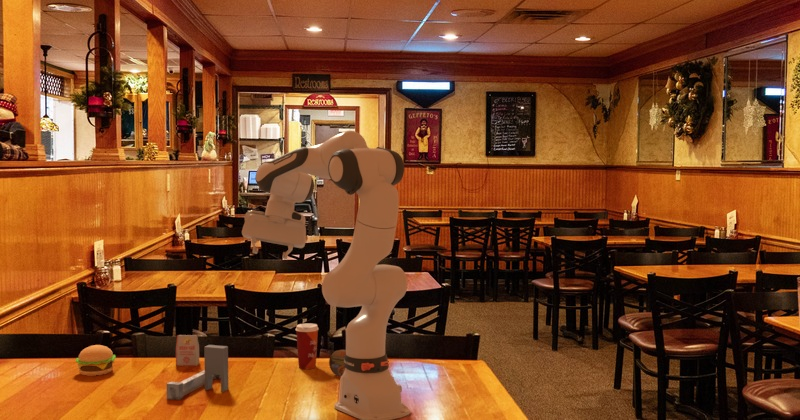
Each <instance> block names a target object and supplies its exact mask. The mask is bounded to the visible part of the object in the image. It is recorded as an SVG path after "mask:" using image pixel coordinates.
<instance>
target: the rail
mask: <svg viewBox="0 0 800 420" xmlns="http://www.w3.org/2000/svg"><path fill="white" fill-rule="evenodd" d="M219 379H220V380H221V375H216V374H212V382H213V381H215V380H219ZM204 386H205V369H203V370H202V371H200V372H198V373H196V374H193V375H192V376H190V377H188V378H185V379H183V380H182V381H169V382H167V383H166V400H172V401H173V400H174V401H175V400H176V401H181V400H182V399H184V397H185V396H186V395H188V394H190V393H192V392H193V391H195V390H198V389H199V388H201V387H204Z"/></svg>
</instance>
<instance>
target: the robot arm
mask: <svg viewBox="0 0 800 420" xmlns="http://www.w3.org/2000/svg"><path fill="white" fill-rule="evenodd" d="M256 170H257V171H256V173H255V177H254V179H255V182H256V185H257V187H258V188H259V189H260V191H262V192H266V193H269V199H268V200H267V204H266V208H265V211H260V210H254V209H251V210H247V212H246V213H245V215H244V218H243V219H244V224H243V225H242V230H241V235H242V237H243V239H248V240H250V241H251V245H252V246H253V248H252V254H255V255H257V254H258V253H259V247H257V246H256V243H257V241H260V242H266V243H271V244H277V245H282V246H287V248H288V250H286V251H283V252H282V258H281V259H284V260H287V259H288V257H289V256H288V255H289V254H290V253H291V252H293V248H298V249H303V248H304V247H306V246H305V245H306V240H307V239H306V238H307V227H306V217H305V215H304V214H301V213H300V212H298V211H296V210H295V205H296V203H298V204H301V203H305V202H306V201H309V200H310V199H311V198H312V196H313V194H314V191H315V190H314V189H315V182H314V181H315V180H314V178H313V177H312V176H314V177H317V178H320V179H323V180H331V182H333V183H334V185H335V186H336V187H338V188H340V190H344V191H345V193H346V194H347V195H349V196H351V195H352V196H353V195H354V194H355V193H356V194H357V196H358V201H359V204H358V209H357V214H356V219H355V226H354V230H353V236H352V240H351V243H350V246H349V248H348V250H347V252H346V253H345V255H344V257H343V258H342V259H341V261H340V262H339V263H338V264H337V265H336V266H335V267H333V269H332V270H330V271H329V272H327V273H326V275H325V276H324V278H323V280H322V284H321V293H322V295H323V298H324V299H325V302H326V303H327V304H328V305H330V306H331V307H335V308H344V309H345V308H347V309H348V308H354V307H355V308H357V307H361V309H360V311H359V313H358V314H357V315H356V317H354V318H353V319H351V321H350V322H348V324H347V326H346V328H345V350H346V353H345V355H344V367H345V371H344V373H343V375H342V376H341V377H339V378H340V379H339V389H338V401H337V402H335V403H334V409H335V410H338V411H341V412H343V413H345V414H347V415H349V416H352V417H354V418H357V419H358V420H395V419H401V418H404V417H407V416H409V415H410V414H411V410H410V408H408V407H407V406H406V404H405V403H404V402H402V392H403V387H402V384H397V383H396V381H395V378H394V377H395V376H392V374H391V371H390V370H389V367H390V366H389V365H390V364H389V363H390V361H389V360H388V354H387V353H386V335H387V326H388V321H389V319H390V317H391V313H392V311H393V310H394V308H395V306H396V305H397V304H398V302H399V301H400V300H402V298H403V297H405V295H406V292H407V291H408V287H409V286H408V285H409V283H408V277H407V274H406V273H405V271H404V270H403V268H401V267H400V266H397V265H393V264H392V265H391V264H386V263H385V264H379V262H381V261H382V260H383V259H385V258H387V257H388V256H389V255H390V253H391V252H392V249H393V247H394V242H395V236H396V231H397V225H398V218H399V211H400V210H399V208H400V207H399V206H400V205H399V204H400V200H399V197H400V196H399V195H400V194H399V191H398V189H397V188H396V186H395V185H398V184H399V183H400V182H401V181H402V180H403V177H404V173H405V162H404V160H403V158H402V156H401V155H400V153H399V152H397V151H394V150H392V149H389V148H385V147H380V146H377V147H376V148H373V147H372V148H371V147H369V146H368V145H367V141H366V140H365V138H364V136H363V135H362V134H360V133H359V132H357V131H354V130H345V131H343V132H340V133H338V134H336V135H333V136H331V137H330V138H328V139H327V140H325V141H324V142H322V143H318V144H314V145H310V146H303V147H299V148H295V149H293V150H291V151H289V152H287V153H285V154H282V155H280V156H279V157H277V158H274V159H273V158H270V159H267V160H265V161H263V162H262V163H260V165H259V166H258V168H257V169H256Z"/></svg>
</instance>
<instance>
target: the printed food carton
mask: <svg viewBox="0 0 800 420" xmlns="http://www.w3.org/2000/svg"><path fill="white" fill-rule="evenodd" d="M175 342H176V343H175V367H197V366H198V365H200V344H199V338H198V335H197V334H192V335H191V334H187V335H186V334H176V341H175Z"/></svg>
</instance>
